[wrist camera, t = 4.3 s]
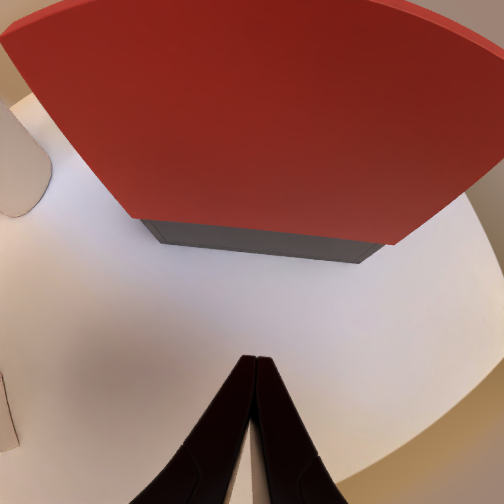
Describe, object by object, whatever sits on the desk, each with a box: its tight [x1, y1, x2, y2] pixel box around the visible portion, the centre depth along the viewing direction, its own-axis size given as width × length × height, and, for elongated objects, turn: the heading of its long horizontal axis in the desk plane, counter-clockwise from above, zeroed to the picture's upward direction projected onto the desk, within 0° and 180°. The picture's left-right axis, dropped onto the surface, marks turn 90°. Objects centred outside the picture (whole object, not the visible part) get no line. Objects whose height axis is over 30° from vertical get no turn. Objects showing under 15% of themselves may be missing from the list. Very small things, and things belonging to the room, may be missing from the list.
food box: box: [140, 219, 386, 264], centre depth 21 cm, size 12×15×6 cm
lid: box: [0, 0, 504, 245], centre depth 10 cm, size 13×15×1 cm
